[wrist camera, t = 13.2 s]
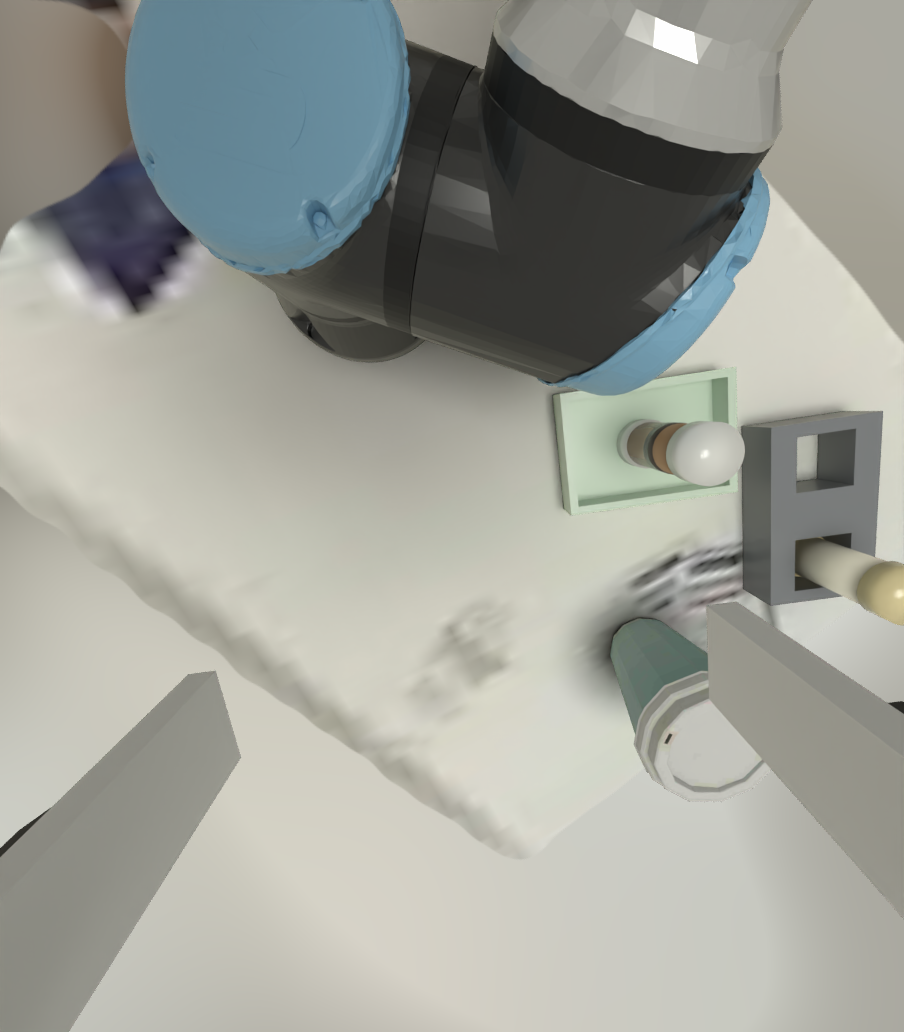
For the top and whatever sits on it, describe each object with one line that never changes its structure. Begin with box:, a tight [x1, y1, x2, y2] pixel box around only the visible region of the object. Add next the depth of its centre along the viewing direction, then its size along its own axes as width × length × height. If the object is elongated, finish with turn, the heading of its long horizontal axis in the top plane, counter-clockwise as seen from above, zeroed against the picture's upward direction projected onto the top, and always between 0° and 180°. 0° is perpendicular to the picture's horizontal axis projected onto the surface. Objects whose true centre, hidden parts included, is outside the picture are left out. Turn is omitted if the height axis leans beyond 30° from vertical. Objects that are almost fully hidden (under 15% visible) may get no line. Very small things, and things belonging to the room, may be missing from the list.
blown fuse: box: [617, 419, 745, 486], centre depth 35 cm, size 4×4×12 cm
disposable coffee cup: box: [610, 618, 771, 802], centre depth 39 cm, size 11×11×15 cm
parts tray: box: [553, 367, 738, 516], centre depth 40 cm, size 11×15×3 cm
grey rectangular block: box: [742, 411, 883, 606], centre depth 41 cm, size 16×9×4 cm, turn 9°
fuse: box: [795, 537, 904, 625], centre depth 38 cm, size 4×4×12 cm
